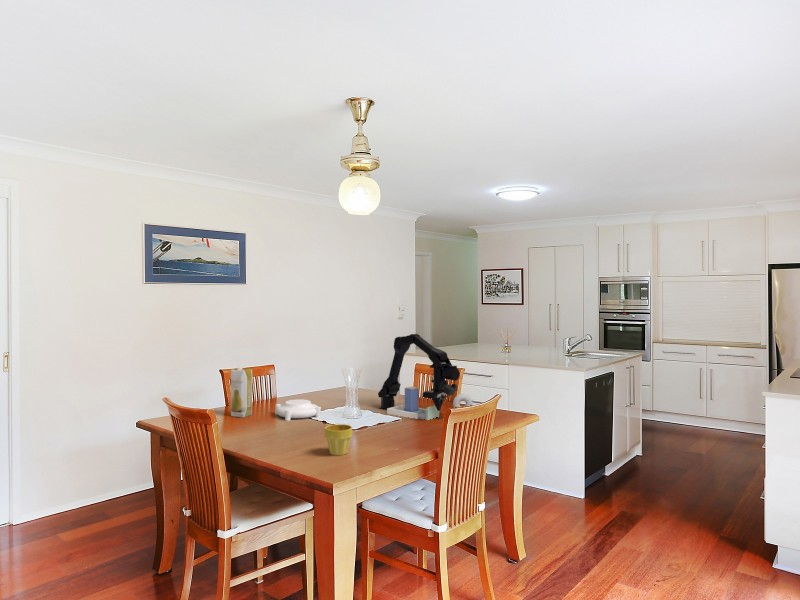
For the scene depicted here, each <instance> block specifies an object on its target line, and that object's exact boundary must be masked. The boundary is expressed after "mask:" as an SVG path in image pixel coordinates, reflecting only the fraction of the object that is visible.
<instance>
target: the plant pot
mask: <svg viewBox="0 0 800 600" xmlns="http://www.w3.org/2000/svg"><path fill="white" fill-rule="evenodd" d="M352 436H353V426H352V425H350V424H344V423H340V424H339V423H337V424H335V423H334V424H329V425H327V426H325V427H324V437H325V438H326V441H327V445H328V449H329V450H328V452H329V454H330V455H332V456H343V455H346V454H348V451H349V447H350V441H351V437H352Z"/></svg>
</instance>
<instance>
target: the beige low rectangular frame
mask: <svg viewBox="0 0 800 600" xmlns="http://www.w3.org/2000/svg"><path fill="white" fill-rule="evenodd" d="M402 409H405V404H400V405H397V406H396V405H395V406H394V407H391V408H387V410H386V414H388V415H394V416H399V417H404V418H408V417H409V419H414V418H415V419H414V420H418V419H419V414H418V413H412V412H407V411H401V410H402ZM418 409H422V410H424V412H425V413H426V408H423V407H418Z"/></svg>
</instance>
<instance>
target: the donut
mask: <svg viewBox="0 0 800 600" xmlns="http://www.w3.org/2000/svg"><path fill="white" fill-rule="evenodd" d="M462 401H463V402H465V405H464V406H463V407H465V406H470V405H472V406H473V400H472V398H471V397H470V395H468V394H465V393H461V394H460V393H459V394H457V395H456V396H455V397H454V399H453V401H452V407H453V409H454V408H455V407H462V406H461V405H460V403H461V402H462Z"/></svg>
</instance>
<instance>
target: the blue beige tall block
mask: <svg viewBox="0 0 800 600" xmlns="http://www.w3.org/2000/svg"><path fill="white" fill-rule="evenodd" d="M404 405H405V411H408V412H415V411H418V408H419V388H418V387H416V386H406V387H404Z"/></svg>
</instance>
